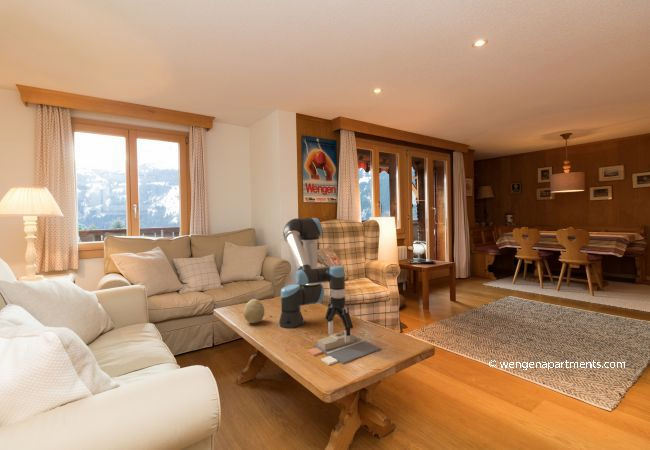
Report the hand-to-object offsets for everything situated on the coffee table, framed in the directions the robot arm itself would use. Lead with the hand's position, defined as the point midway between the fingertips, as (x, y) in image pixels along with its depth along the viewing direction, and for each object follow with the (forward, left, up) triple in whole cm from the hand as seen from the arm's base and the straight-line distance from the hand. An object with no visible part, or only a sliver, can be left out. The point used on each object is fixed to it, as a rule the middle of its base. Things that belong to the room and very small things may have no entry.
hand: (338, 337), depth 164 cm
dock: (+6, -3, -4) cm, 8 cm away
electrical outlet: (0, -2, -3) cm, 4 cm away
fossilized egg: (-60, -21, -4) cm, 63 cm away
